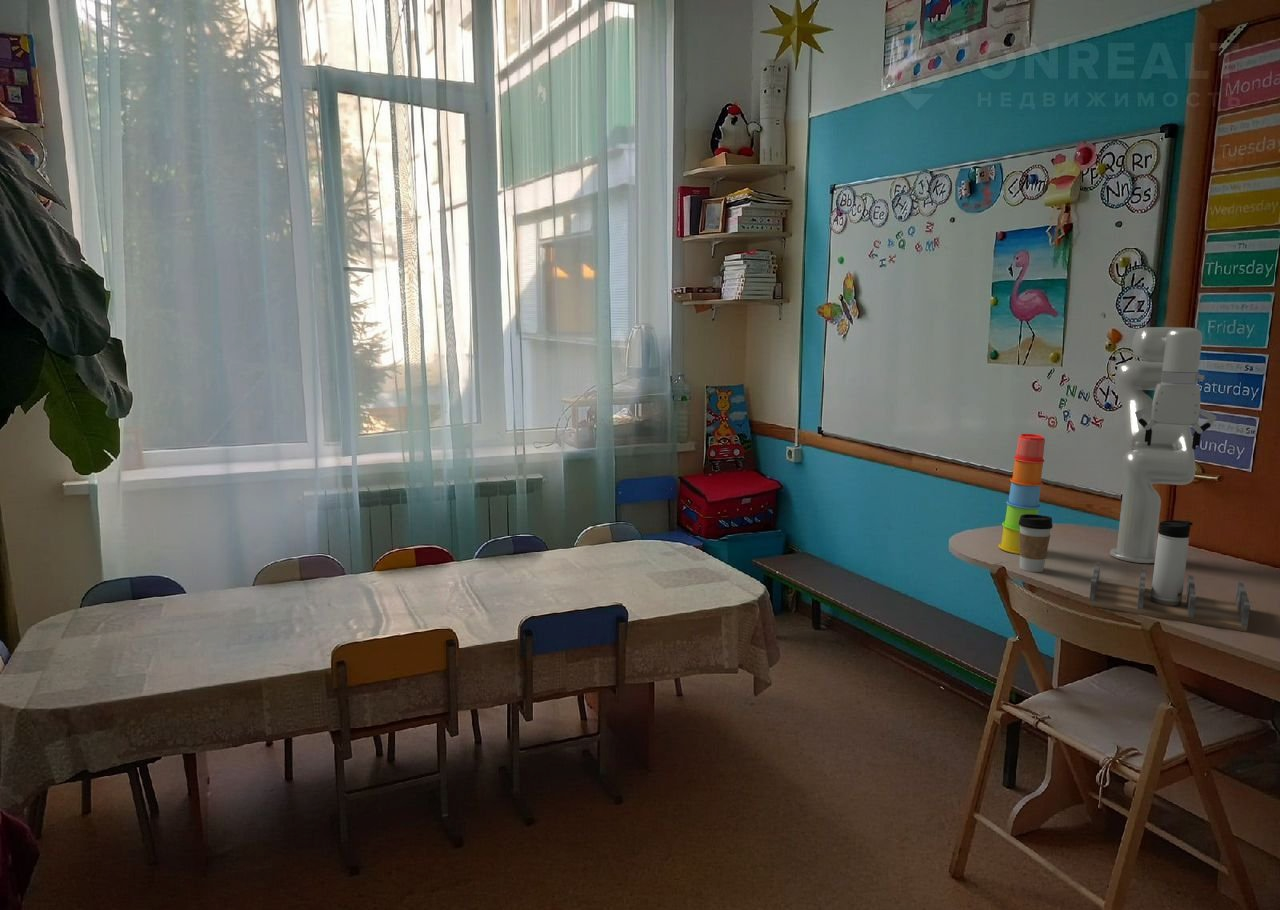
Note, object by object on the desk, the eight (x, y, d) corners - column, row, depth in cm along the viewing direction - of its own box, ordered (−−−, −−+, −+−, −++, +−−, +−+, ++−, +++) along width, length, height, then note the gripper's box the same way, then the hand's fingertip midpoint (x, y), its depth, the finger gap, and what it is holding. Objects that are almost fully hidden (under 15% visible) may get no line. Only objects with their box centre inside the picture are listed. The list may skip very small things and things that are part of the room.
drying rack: (1093, 584, 216) (1096, 561, 215) (1239, 607, 200) (1243, 582, 199) (1088, 605, 201) (1091, 580, 200) (1246, 631, 185) (1250, 605, 184)
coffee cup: (1036, 575, 223) (1041, 521, 221) (1008, 567, 230) (1012, 514, 228) (1054, 570, 228) (1060, 517, 225) (1026, 562, 235) (1031, 510, 232)
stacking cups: (1030, 545, 251) (1040, 432, 245) (1040, 555, 241) (1051, 437, 235) (994, 544, 253) (1004, 431, 247) (1003, 553, 243) (1012, 436, 237)
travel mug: (1187, 607, 196) (1197, 525, 193) (1156, 605, 198) (1166, 523, 194) (1176, 598, 203) (1186, 518, 199) (1146, 596, 204) (1155, 517, 200)
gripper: (1220, 379, 206) (1211, 447, 209) (1139, 376, 215) (1131, 441, 218) (1222, 381, 200) (1213, 452, 203) (1138, 378, 209) (1131, 445, 212)
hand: (1171, 446), depth 210 cm, fingers open, 9 cm apart
